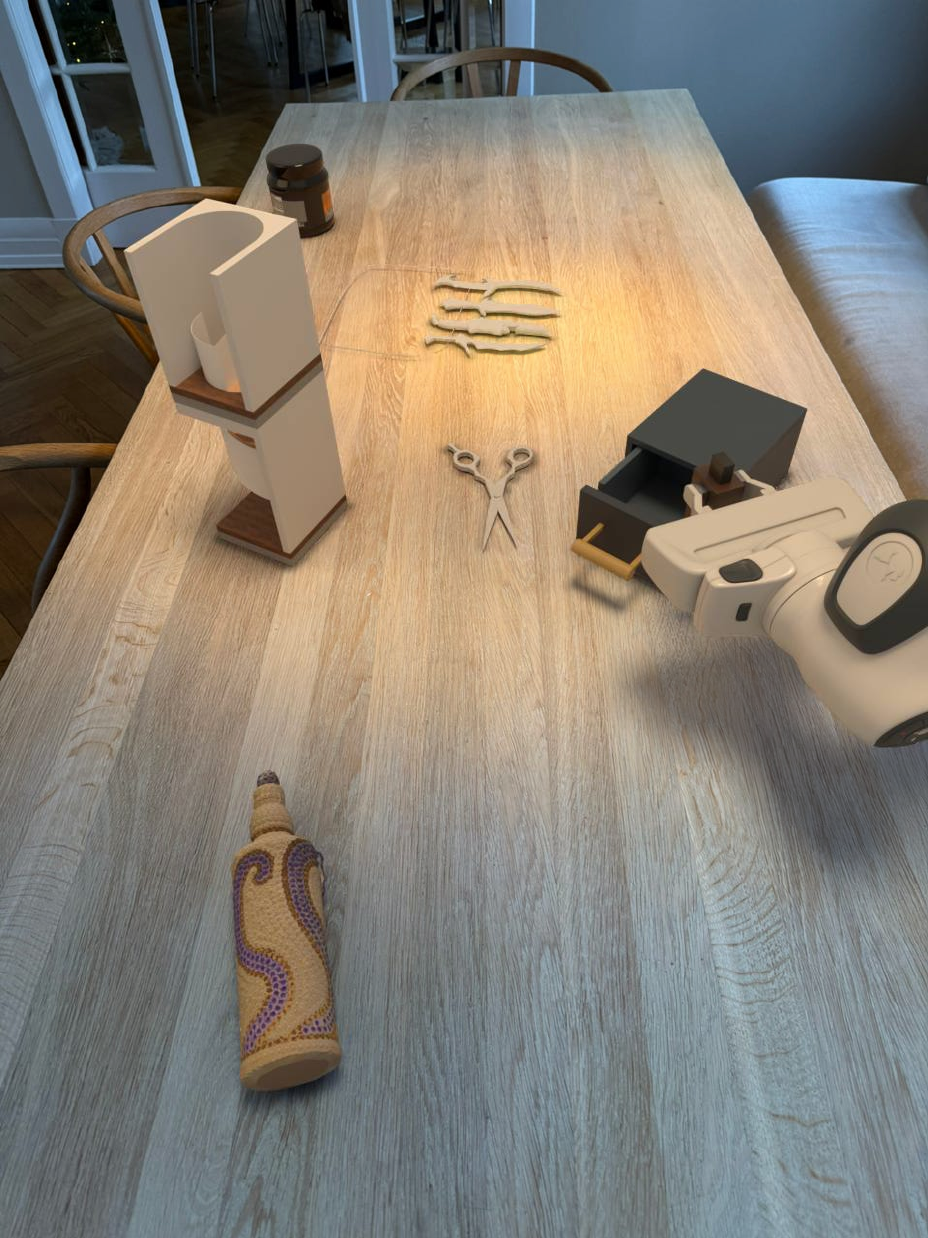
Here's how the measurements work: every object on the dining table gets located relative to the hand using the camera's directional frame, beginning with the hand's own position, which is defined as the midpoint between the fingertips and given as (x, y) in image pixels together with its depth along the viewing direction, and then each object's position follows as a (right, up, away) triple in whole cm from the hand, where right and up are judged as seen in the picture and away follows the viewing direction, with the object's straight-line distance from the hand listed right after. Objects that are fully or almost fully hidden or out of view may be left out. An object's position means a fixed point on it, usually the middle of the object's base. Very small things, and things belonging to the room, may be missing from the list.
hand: (711, 482), depth 82 cm
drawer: (-2, -4, +18) cm, 19 cm away
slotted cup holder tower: (-44, -1, +24) cm, 50 cm away
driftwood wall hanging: (-26, +34, +53) cm, 68 cm away
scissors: (-19, +2, +25) cm, 32 cm away
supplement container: (-51, +57, +75) cm, 107 cm away
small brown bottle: (+1, -4, +3) cm, 5 cm away
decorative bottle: (-37, -39, -9) cm, 54 cm away
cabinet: (+6, +3, +25) cm, 26 cm away
